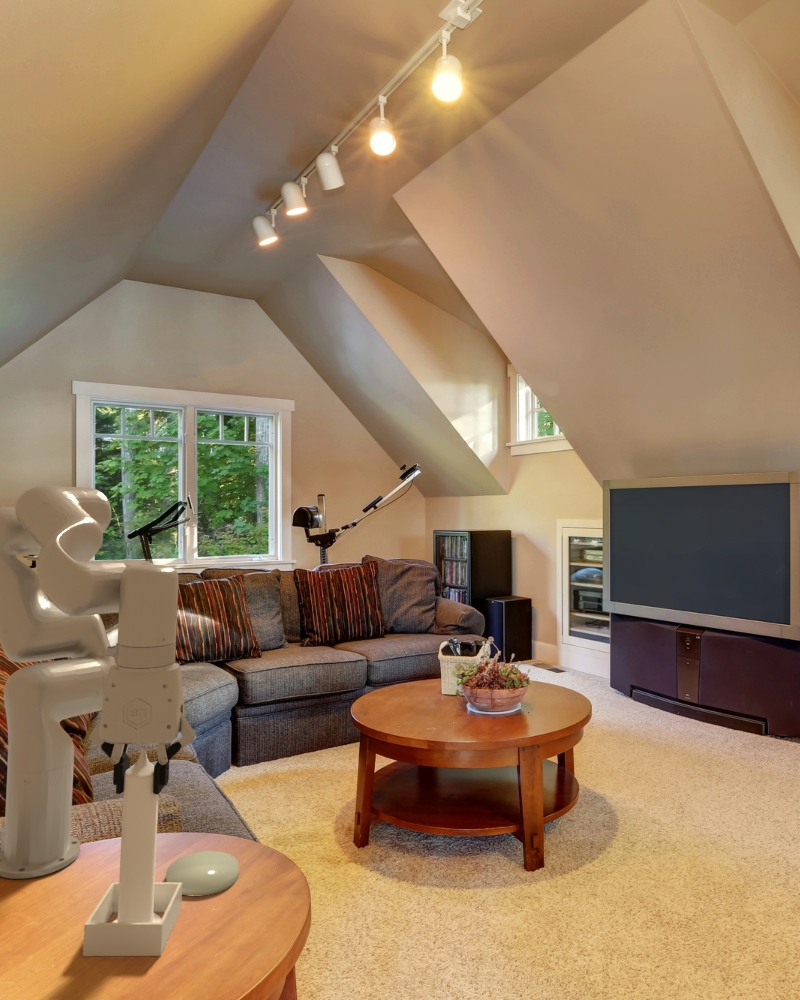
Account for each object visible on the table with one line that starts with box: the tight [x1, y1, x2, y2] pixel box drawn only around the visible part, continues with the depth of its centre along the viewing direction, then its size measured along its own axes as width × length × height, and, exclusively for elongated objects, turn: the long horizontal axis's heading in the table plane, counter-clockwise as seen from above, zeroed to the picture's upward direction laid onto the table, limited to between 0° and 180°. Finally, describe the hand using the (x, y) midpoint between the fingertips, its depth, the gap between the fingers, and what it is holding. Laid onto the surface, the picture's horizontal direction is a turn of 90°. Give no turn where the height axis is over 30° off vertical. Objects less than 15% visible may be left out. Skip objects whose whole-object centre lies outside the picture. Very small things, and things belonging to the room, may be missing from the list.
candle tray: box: [82, 881, 183, 957], centre depth 91 cm, size 10×10×4 cm
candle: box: [111, 746, 162, 923], centre depth 91 cm, size 7×7×25 cm
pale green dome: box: [165, 850, 240, 896], centre depth 105 cm, size 11×11×1 cm
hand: (140, 788), depth 91 cm, fingers closed on candle, 4 cm apart
